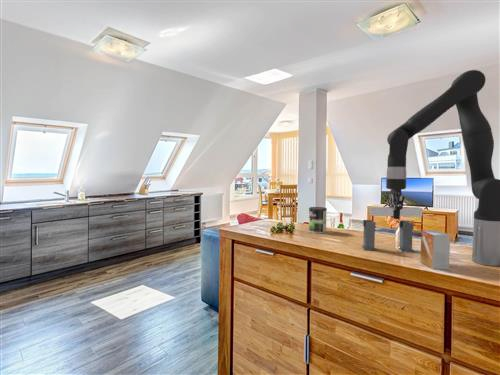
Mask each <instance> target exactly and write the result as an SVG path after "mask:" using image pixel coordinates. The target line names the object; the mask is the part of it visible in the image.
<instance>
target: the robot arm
mask: <svg viewBox="0 0 500 375" xmlns="http://www.w3.org/2000/svg"><path fill="white" fill-rule="evenodd" d="M485 83H486V76H485V73H483V72H482V71H481V70H477V69H470V70H467V71H464V72H463V73H461V74H460V75H459V76H457V77H456V78H455V79H454V80H453V81H452V83H451V86H450V87H449V88H448V89H447V90H445V92H443V93H442V94H441V95H439V96H438V97H436V98H435V99H433V101H431V102H429V103H428V104H426V105H424V106H423V107H422V108H421V109H420V110H418V111H417V112H416V113H414V114H413V115H412V116H410V117H409V118H408V119H407V120H406V121H405V122H404V123H403V124H401V125H400V126H399V127H397V128H395V129H394V130H393V131H391V132H390V133H389V134H388V135H387V144H388V145H389V148H388V150H389V151H388V152H389V153H388V155H387V166H386V167H387V168H386V178H385V179H386V183H385V187H386V189H388V190H390V193H387V197H388V207H394V216H390V218H393V219H394V220H400V218H401V216H400V210H401V209H402V208H403V207H404V202H405V196H404V195H403V193H402V190H406V189H407V152H408V145H409V140H411V138H413V137H414V136H415V135H417V134H418V133H420V132H422V131H424V130H425V129H426V128H427V127H428V126H431V125H432V123H434V122H435V121H436V120H437V119H439V118H440V117H441V116H442V115H444V114H445V113H446V112H448V111H449V110H450V109H451V108H452V107H454V106H455V107H456V110H457V114H458V120H459V125H460V126H459V127H460V130H461V136H462V142H463V146H464V148H465V149H464V150H465V154H466V159H467V162H468V166H469V171H470V172H469V173H470V182H471V183H470V184H471V185H470V186H471V191H472V194H473V196H474V198H476V199H477V200H478V204H477V209H476V210H474V212H473V228H472V234H473V235H472V247H471V248H472V252H471V254H472V255H471V261H472V262H473V263H476V264H480V265H484V266H490V267H495V266H496V267H500V179H498V178H496V177H495V174H494V171H493V166H492V165H493V164H492V161H493V159H492V158H493V154H494V148H495V141H494V137H493V131H492V126H491V124H490V122H489V121H488V118H486V116H485V115H484V113H483V112H482V110H481V108H480V104H479V98H478V93H479V92H480V91H482V89H483V88H484V86H485V85H486V84H485Z"/></svg>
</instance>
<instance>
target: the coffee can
mask: <svg viewBox="0 0 500 375" xmlns="http://www.w3.org/2000/svg"><path fill="white" fill-rule="evenodd" d="M327 211H328V210H327V207H323V206H310V207H309V208H308V219H309V220H308V232H309V233H312V234H324V233H326V232H327Z"/></svg>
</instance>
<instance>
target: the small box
mask: <svg viewBox="0 0 500 375" xmlns="http://www.w3.org/2000/svg"><path fill="white" fill-rule="evenodd" d="M420 232H421V236H420V237H421V240H420V259H419V260H420V263H421V264H423V265H425V266H427V267H428V268H430V269H432V270H449V269H450V250H451V248H450V247H451V245H450V244H451V234H448V233H445V232H443V231H439V230H437V229H436V230H435V229H434V230H433V229H429V230H428V229H426V230H425V229H423V230H421V231H420Z"/></svg>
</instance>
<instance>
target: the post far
mask: <svg viewBox="0 0 500 375" xmlns="http://www.w3.org/2000/svg"><path fill="white" fill-rule="evenodd" d="M362 221H363V222H362V225H363V240H362V241H363V242H362V243H363V244H362V245H361V249H363V251H376V250H377V248H376V247H375V244H376V243H375V241H376V240H375V239H376V238H375V236H376V233H375V232H376V231H375V230H376V222H375V221H374V220H373V219H363V220H362Z"/></svg>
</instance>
